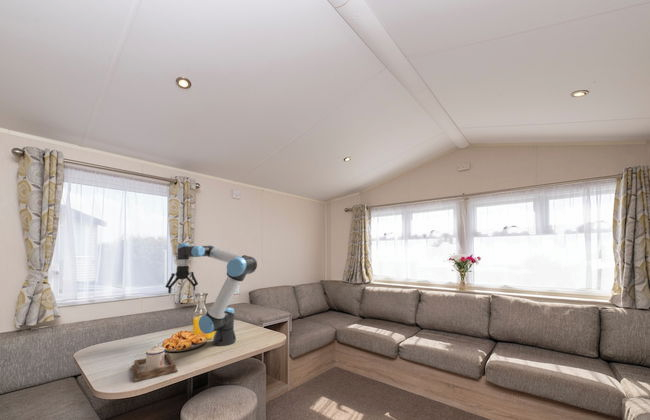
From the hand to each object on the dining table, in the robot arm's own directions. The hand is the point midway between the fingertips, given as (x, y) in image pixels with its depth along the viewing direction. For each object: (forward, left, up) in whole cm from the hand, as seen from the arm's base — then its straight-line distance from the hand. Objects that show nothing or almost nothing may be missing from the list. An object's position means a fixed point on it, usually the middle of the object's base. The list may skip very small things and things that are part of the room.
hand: (181, 296), depth 201 cm
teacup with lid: (+19, +36, -30) cm, 50 cm away
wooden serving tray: (+19, +36, -31) cm, 51 cm away
